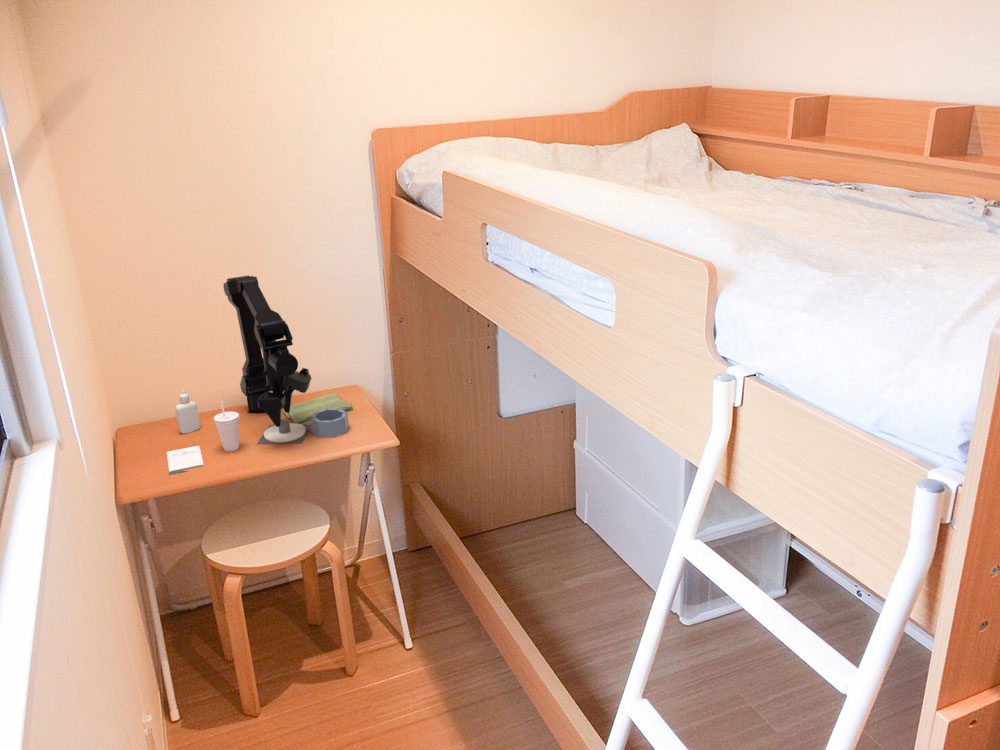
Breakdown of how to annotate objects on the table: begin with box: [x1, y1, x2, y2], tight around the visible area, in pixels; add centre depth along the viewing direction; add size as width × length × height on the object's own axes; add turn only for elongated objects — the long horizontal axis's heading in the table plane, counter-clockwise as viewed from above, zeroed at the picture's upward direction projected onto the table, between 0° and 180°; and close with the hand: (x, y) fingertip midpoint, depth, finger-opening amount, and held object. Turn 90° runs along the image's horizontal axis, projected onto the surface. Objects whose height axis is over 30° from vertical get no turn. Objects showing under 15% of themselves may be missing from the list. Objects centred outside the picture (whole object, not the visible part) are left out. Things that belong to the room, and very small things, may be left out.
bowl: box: [310, 409, 349, 439], centre depth 217 cm, size 9×9×5 cm
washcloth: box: [282, 392, 354, 425], centre depth 230 cm, size 13×18×3 cm
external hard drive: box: [166, 445, 205, 476], centre depth 204 cm, size 2×8×12 cm
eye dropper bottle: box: [174, 389, 202, 435], centre depth 220 cm, size 4×6×12 cm
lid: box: [263, 418, 306, 443], centre depth 216 cm, size 11×11×4 cm
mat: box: [256, 423, 312, 445], centre depth 216 cm, size 12×12×1 cm
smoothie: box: [213, 400, 241, 452], centre depth 207 cm, size 6×6×14 cm
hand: (283, 419), depth 215 cm, fingers open, 9 cm apart
